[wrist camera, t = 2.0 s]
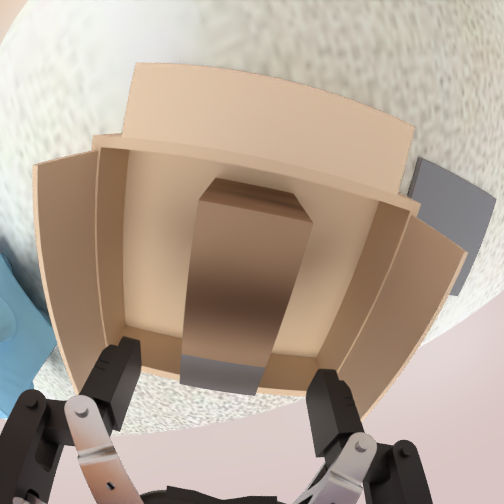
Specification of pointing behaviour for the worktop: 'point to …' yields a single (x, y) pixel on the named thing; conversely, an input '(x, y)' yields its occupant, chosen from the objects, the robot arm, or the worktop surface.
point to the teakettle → (20, 339)
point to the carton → (256, 173)
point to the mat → (452, 210)
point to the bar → (239, 283)
